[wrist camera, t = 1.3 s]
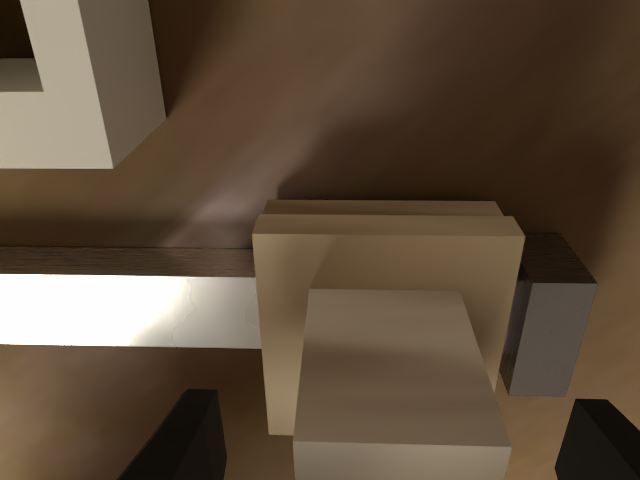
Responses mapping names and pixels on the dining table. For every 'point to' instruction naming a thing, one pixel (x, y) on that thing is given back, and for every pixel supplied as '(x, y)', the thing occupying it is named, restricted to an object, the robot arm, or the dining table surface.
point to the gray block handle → (242, 305)
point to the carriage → (386, 335)
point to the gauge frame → (80, 86)
